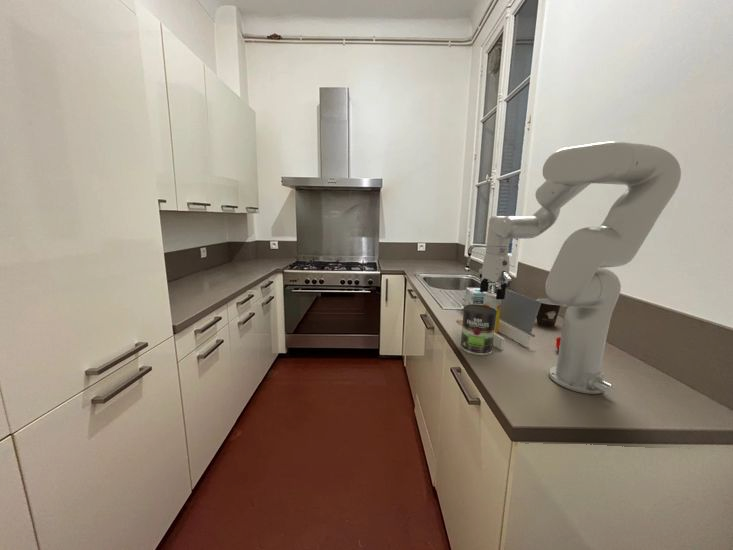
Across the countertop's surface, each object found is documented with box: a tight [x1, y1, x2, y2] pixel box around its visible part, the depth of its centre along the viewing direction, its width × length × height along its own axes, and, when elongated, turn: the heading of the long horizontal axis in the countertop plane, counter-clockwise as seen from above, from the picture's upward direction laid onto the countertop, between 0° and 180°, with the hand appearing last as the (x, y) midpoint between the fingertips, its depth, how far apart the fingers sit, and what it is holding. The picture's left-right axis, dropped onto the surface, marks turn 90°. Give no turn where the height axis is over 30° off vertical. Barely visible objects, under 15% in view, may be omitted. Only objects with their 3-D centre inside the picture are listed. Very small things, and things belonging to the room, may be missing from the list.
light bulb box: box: [464, 287, 488, 306], centre depth 136 cm, size 11×7×11 cm, turn 179°
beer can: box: [483, 292, 501, 334], centre depth 112 cm, size 6×6×15 cm
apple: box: [555, 336, 561, 351], centre depth 97 cm, size 7×7×8 cm
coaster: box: [456, 317, 463, 326], centre depth 124 cm, size 9×9×1 cm
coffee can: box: [459, 304, 497, 356], centre depth 98 cm, size 10×10×14 cm
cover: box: [499, 289, 542, 336], centre depth 109 cm, size 20×12×1 cm
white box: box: [493, 320, 536, 351], centre depth 109 cm, size 23×12×5 cm, turn 13°
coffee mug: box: [536, 298, 561, 328], centre depth 123 cm, size 12×9×10 cm
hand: (491, 295), depth 111 cm, fingers open, 9 cm apart
